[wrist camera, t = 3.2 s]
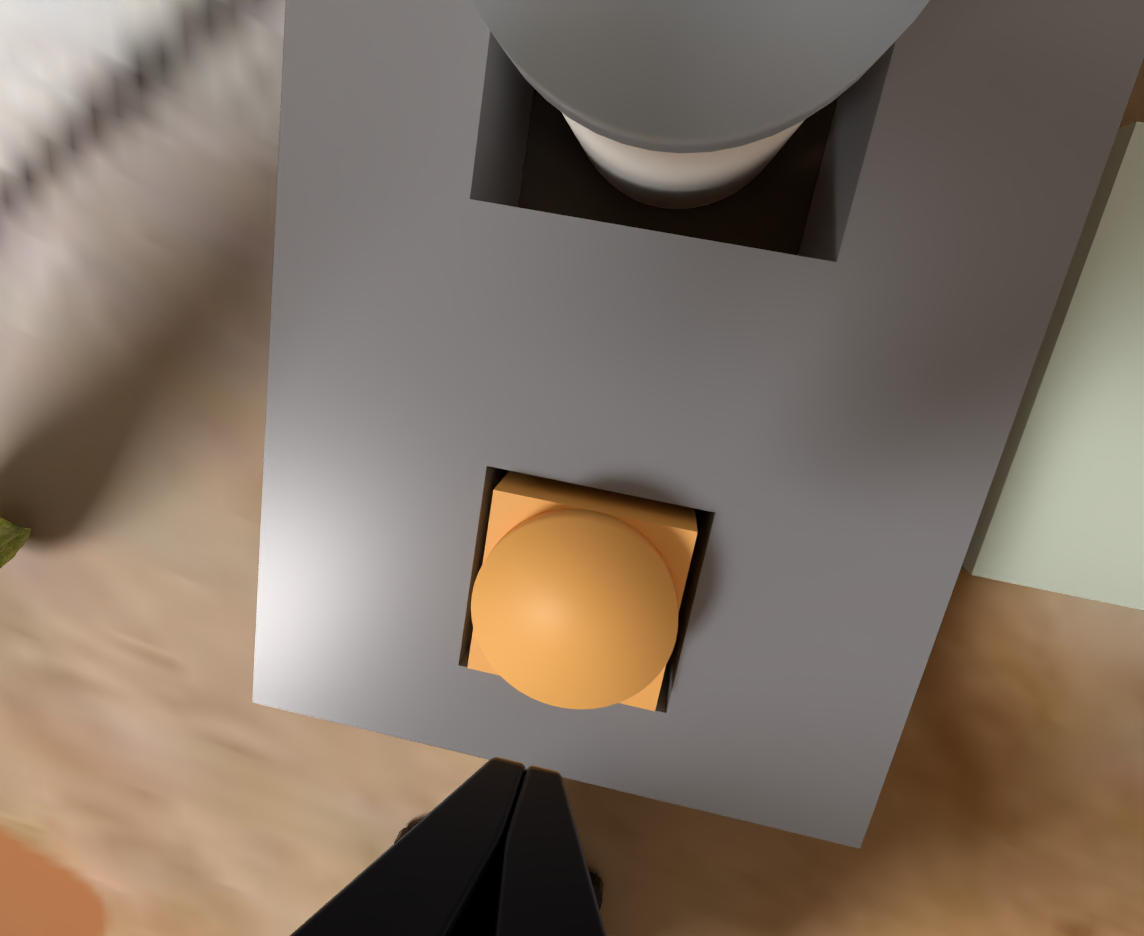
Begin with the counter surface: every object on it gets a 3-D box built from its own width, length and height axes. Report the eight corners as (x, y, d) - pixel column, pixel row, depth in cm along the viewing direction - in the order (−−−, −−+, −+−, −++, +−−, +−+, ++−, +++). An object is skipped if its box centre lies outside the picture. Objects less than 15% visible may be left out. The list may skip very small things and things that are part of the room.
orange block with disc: (657, 620, 18) (654, 729, 13) (508, 587, 18) (459, 684, 14) (690, 476, 17) (699, 543, 12) (532, 444, 17) (485, 498, 13)
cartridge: (775, 236, 16) (909, 174, 7) (544, 197, 16) (404, 93, 7) (840, -35, 14) (1113, -539, 6) (585, -70, 15) (467, -588, 6)
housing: (820, 733, 19) (860, 848, 15) (332, 621, 20) (252, 702, 16) (1100, -143, 13) (1279, -321, 9) (402, -227, 14) (305, -416, 10)
